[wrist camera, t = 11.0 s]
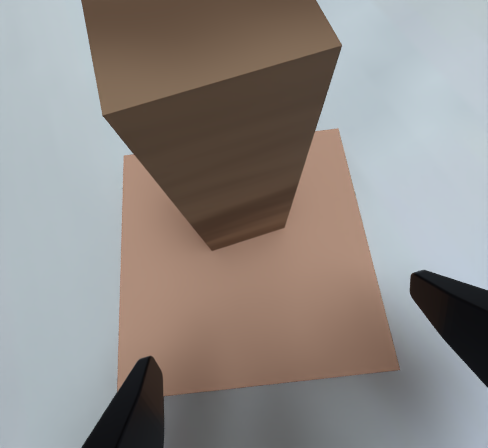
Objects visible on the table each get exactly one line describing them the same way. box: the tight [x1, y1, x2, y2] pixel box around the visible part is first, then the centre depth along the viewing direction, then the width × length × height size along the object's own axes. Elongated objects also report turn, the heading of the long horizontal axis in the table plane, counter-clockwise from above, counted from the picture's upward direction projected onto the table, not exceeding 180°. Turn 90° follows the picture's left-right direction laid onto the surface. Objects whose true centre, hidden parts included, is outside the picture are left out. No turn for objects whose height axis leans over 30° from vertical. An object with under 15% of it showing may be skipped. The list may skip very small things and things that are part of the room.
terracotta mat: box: [117, 129, 400, 396], centre depth 18 cm, size 16×16×1 cm
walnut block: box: [81, 0, 342, 251], centre depth 12 cm, size 5×5×13 cm
